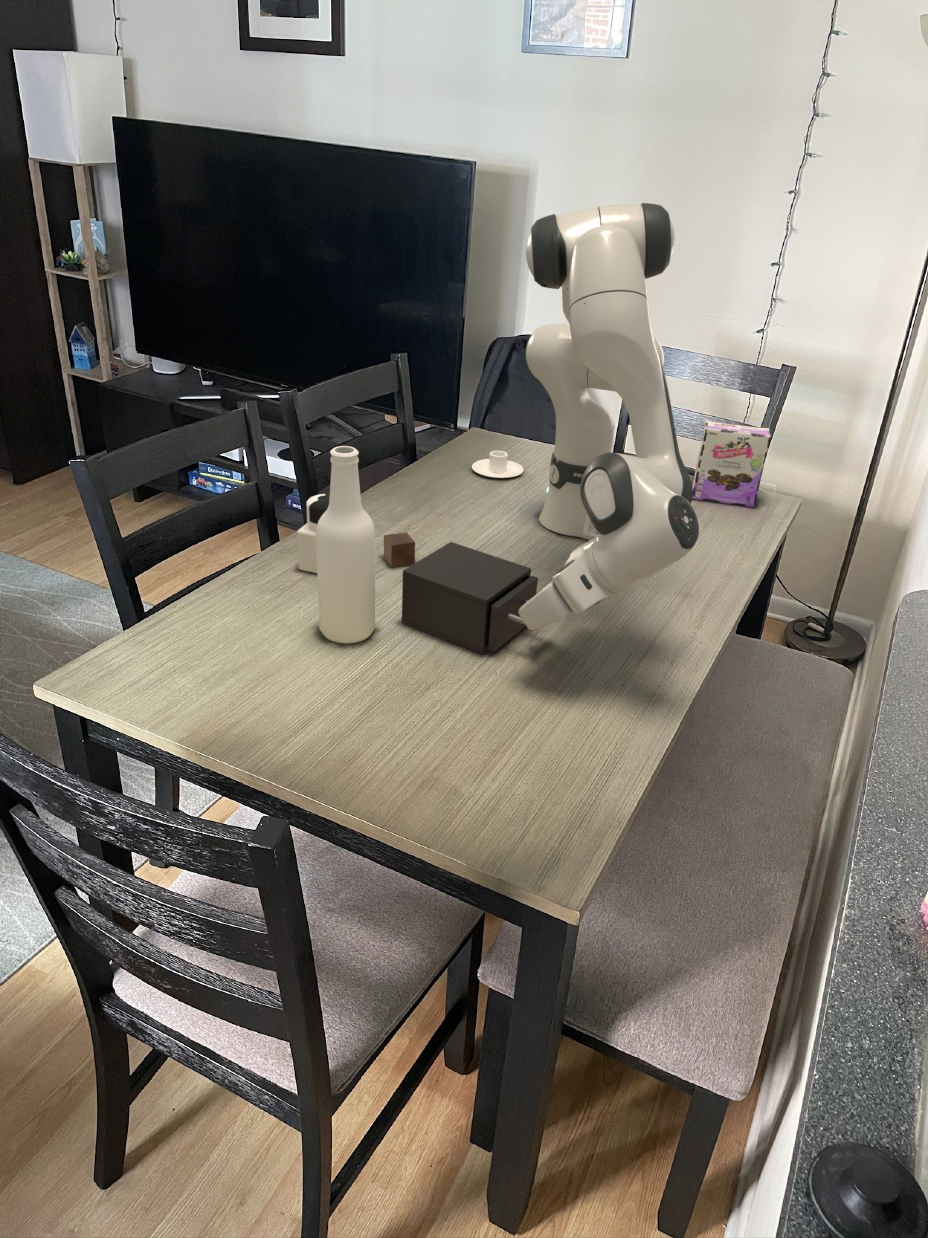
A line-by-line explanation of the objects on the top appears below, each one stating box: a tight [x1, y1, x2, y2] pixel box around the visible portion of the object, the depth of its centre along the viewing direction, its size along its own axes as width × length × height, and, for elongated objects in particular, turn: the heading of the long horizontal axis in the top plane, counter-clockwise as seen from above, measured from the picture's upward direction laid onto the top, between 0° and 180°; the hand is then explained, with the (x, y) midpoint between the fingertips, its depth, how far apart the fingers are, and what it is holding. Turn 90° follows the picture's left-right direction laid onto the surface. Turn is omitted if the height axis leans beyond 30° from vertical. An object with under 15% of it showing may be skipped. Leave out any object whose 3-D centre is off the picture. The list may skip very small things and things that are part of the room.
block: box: [383, 531, 416, 568], centre depth 163 cm, size 4×4×4 cm
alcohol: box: [316, 445, 376, 644], centre depth 134 cm, size 9×9×30 cm
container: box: [296, 493, 330, 574], centre depth 158 cm, size 8×8×13 cm
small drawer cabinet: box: [401, 541, 532, 655], centre depth 144 cm, size 16×14×10 cm
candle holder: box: [471, 450, 524, 479], centre depth 205 cm, size 12×12×4 cm
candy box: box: [692, 420, 772, 508], centre depth 195 cm, size 14×6×16 cm, turn 76°
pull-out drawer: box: [486, 575, 539, 652], centre depth 142 cm, size 20×12×8 cm, turn 57°
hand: (533, 609), depth 137 cm, fingers closed
